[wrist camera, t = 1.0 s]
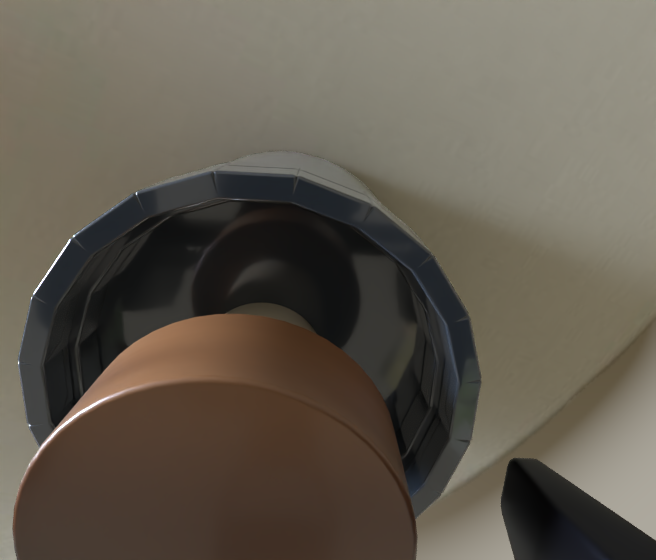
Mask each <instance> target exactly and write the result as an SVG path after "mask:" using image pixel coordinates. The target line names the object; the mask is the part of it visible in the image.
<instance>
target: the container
mask: <svg viewBox="0 0 656 560" xmlns="http://www.w3.org/2000/svg"><path fill="white" fill-rule="evenodd" d="M251 303H272V304H277V305H281V306H283V307H286V308H289V309H291V310H293V311H294V312H296V313H298V314H299V315H300V316H302V317H303V318H304V319H305V320H306V321H307V322H308V323H309V324H310V325H311V326H312V328H313V329H314V331H315V332H316V334H317V335H319V336H321V337H323V338H325V339H327V340H328V341H330V342H331V343H332V344H334V345H335V346H337V347H338V348H340V349H341V350H343V351H344V352H345V353H346V354H347V355H349V356H350V357H351V358H352V359H353V360H354V361H355V362H356V363H358V364H359V366H360V367H361V368H362V369H363V370H364V371H365V373H366V374H367V375H368V376H369V377H370V378H371V380H372V381H373V383H374V384H375V386H376V387H377V389H378V390H379V392H380V394H381V395H382V397H383V399H384V402H385V404H386V406H387V408H388V410H389V413H390V416H391V420H392V424H393V427H394V431H395V435H396V439H397V443H398V447H399V452H400V456H401V460H402V464H403V468H404V472H405V477H406V481H407V485H408V489H409V493H410V497H411V502H412V506H413V510H414V514H415V519H416V518H417V517H418V516H419V515H421V514H422V513H423V512H424V511H425V510H426V509H427V508H428V507H429V506H430V505H431V504H432V503H433V502H434V501H436V500H437V499H438V498H439V497H440V496H441V493H443V491H444V489H445V488H446V486H447V484H448V482H449V480H450V479H451V477H452V475H453V473H454V472H455V470H456V468H457V466H458V464H459V463H460V461H461V459H462V457H463V455H464V454H465V452H466V450H467V448H468V446H469V445H470V441H471V439H472V434H473V428H474V422H475V416H476V410H477V405H478V399H479V393H480V387H481V372H480V367H479V362H478V356H477V351H476V346H475V341H474V335H473V330H472V325H471V319H470V317H469V315H468V311H467V310H466V308H465V306H464V305H463V303H462V301H461V300H460V298H459V296H458V295H457V293H456V291H455V289H454V288H453V286H452V284H451V283H450V281H449V279H448V278H447V276H446V274H445V273H444V271H443V269H442V268H441V266H440V264H439V263H438V261H437V259H436V258H435V256H434V255H433V254H432V253H431V251H430V250H429V249H428V248H427V247H426V245H425V244H424V243H423V242H422V240H421V239H420V238H419V237H418V236H417V234H416V233H415V232H414V231H413V230H412V229H411V228H410V227H409V226H407V225H406V224H405V223H404V222H403V221H401V220H400V219H399V218H398V217H397V216H396V215H394V214H393V213H392V212H391V211H390V210H388V209H387V208H386V207H385V206H384V205H382V204H381V203H380V202H379V201H378V199H377V198H376V197H375V195H374V194H373V193H372V192H371V191H370V190H369V189H368V188H367V187H366V186H365V185H364V184H363V183H362V182H361V181H360V180H359V179H358V178H356V177H355V176H354V175H352V174H351V173H350V172H349V171H347V170H345V169H343V168H342V167H340V166H338V165H336V164H335V163H332V162H330V161H328V160H325V159H323V158H320V157H317V156H313V155H309V154H306V153H300V152H292V151H268V152H261V153H254V154H251V155H247V156H244V157H240V158H238V159H235V160H233V161H231V162H226V163H222V164H219V165H215V166H211V167H208V168H204V169H200V170H197V171H193V172H190V173H186V174H182V175H179V176H175V177H172V178H169V179H166V180H164V181H161V182H159V183H157V184H154V185H151V186H149V187H146V188H144V189H141V190H139V191H137V192H135V193H132V194H131V195H129V196H128V197H126V198H125V199H124V200H122V201H121V202H119V203H118V204H117V205H115V206H114V207H112V208H111V209H109V210H108V211H107V212H105V213H104V214H102V215H101V216H99V217H98V218H97V219H95V220H94V221H92V222H91V223H89V224H88V225H87V226H85V227H84V228H82V229H81V230H79V231H78V232H77V233H75V234H74V236H73V237H72V238H70V239H69V241H68V242H67V244H66V245H65V247H64V248H63V250H62V251H61V253H60V254H59V256H58V257H57V259H56V260H55V262H54V263H53V265H52V266H51V268H50V269H49V271H48V272H47V274H46V275H45V277H44V278H43V280H42V281H41V282H40V284H39V285H38V287H37V288H36V290H35V291H34V293H33V296H32V297H31V301H30V306H29V310H28V315H27V320H26V324H25V329H24V333H23V338H22V343H21V347H20V352H19V356H18V361H19V362H18V368H19V374H20V380H21V387H22V393H23V400H24V406H25V413H26V419H27V423H28V424H29V429H30V431H31V433H32V435H33V437H34V439H35V440H36V442H37V444H38V446H39V448H40V446H41V445H42V443H43V442H44V441H45V440H46V439H47V438H48V436H49V435H50V434H51V433H52V432H53V430H54V429H55V428H56V427H57V426H58V425H59V423H60V422H61V421H62V420H63V419H64V418H65V416H66V415H67V414H68V413H69V412H70V410H71V409H72V408H73V407H74V406H75V405H76V403H77V402H78V401H79V400H80V399H81V397H82V396H83V395H84V394H85V393H86V392H87V390H88V389H89V388H90V387H91V386H92V384H93V383H94V382H95V381H96V380H97V379H98V377H99V376H100V375H101V374H102V373H103V372H104V370H105V369H106V368H107V367H108V366H109V365H110V364H111V363H112V362H113V361H114V360H115V358H116V357H117V356H118V355H119V354H120V353H122V352H123V351H124V350H126V349H127V348H128V347H129V346H131V345H132V344H133V343H134V342H136V341H138V340H139V339H141V338H143V337H144V336H146V335H148V334H150V333H151V332H153V331H155V330H158V329H160V328H162V327H165V326H167V325H170V324H172V323H175V322H179V321H182V320H186V319H190V318H194V317H200V316H207V315H214V314H226V313H227V312H229V311H230V310H232V309H234V308H237V307H239V306H242V305H246V304H251Z"/></svg>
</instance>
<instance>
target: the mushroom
mask: <svg viewBox="0 0 656 560" xmlns="http://www.w3.org/2000/svg"><path fill="white" fill-rule="evenodd" d="M13 538H14V549H15V553H16V557H17V560H416V551H417V530H416V521H415V514H414V510H413V506H412V502H411V497H410V493H409V489H408V485H407V481H406V477H405V472H404V468H403V464H402V460H401V456H400V452H399V447H398V443H397V439H396V435H395V431H394V427H393V424H392V420H391V416H390V413H389V410H388V408H387V406H386V404H385V402H384V399H383V397H382V395H381V394H380V392H379V390H378V389H377V387H376V386H375V384H374V383H373V381H372V380H371V378H370V377H369V376H368V375H367V374H366V373H365V371H364V370H363V369H362V368H361V367H360V366H359V364H358V363H356V362H355V361H354V360H353V359H352V358H351V357H350V356H349V355H347V354H346V353H345V352H344V351H343V350H341V349H340V348H338V347H337V346H335V345H334V344H332V343H331V342H330V341H328V340H327V339H325V338H323V337H321V336H319V335H317V334H316V332H315V331H314V329H313V328H312V326H311V325H310V324H309V323H308V322H307V321H306V320H305V319H304V318H303V317H302V316H300V315H299V314H298V313H296V312H294V311H293V310H291V309H289V308H286V307H283V306H281V305H277V304H272V303H251V304H246V305H242V306H239V307H237V308H234V309H232V310H230V311H229V312H227V313H226V314H214V315H207V316H200V317H194V318H190V319H186V320H182V321H179V322H175V323H172V324H170V325H167V326H165V327H162V328H160V329H158V330H155V331H153V332H151V333H150V334H148V335H146V336H144V337H143V338H141V339H139V340H138V341H136V342H134V343H133V344H132V345H131V346H129V347H128V348H127V349H126V350H124V351H123V352H122V353H120V354H119V355H118V356H117V357H116V358H115V360H114V361H113V362H112V363H111V364H110V365H109V366H108V367H107V368H106V369H105V370H104V372H103V373H102V374H101V375H100V376H99V377H98V379H97V380H96V381H95V382H94V383H93V384H92V386H91V387H90V388H89V389H88V390H87V392H86V393H85V394H84V395H83V396H82V397H81V399H80V400H79V401H78V402H77V403H76V405H75V406H74V407H73V408H72V409H71V410H70V412H69V413H68V414H67V415H66V416H65V418H64V419H63V420H62V421H61V422H60V423H59V425H58V426H57V427H56V428H55V429H54V430H53V432H52V433H51V434H50V435H49V436H48V438H47V439H46V440H45V441H44V442H43V443H42V445H41V446H40V448H39V449H38V451H37V452H36V454H35V455H34V457H33V458H32V460H31V461H30V463H29V465H28V467H27V469H26V472H25V474H24V476H23V478H22V480H21V483H20V486H19V490H18V494H17V498H16V502H15V506H14V517H13Z"/></svg>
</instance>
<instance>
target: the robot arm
mask: <svg viewBox="0 0 656 560" xmlns="http://www.w3.org/2000/svg"><path fill="white" fill-rule="evenodd" d="M501 509H502V515H503V519H504V522H505V526H506V529H507V533H508V537H509V540H510V544H511V548H512V551H513V554H514V558H515V560H656V540H654V539H652V538H651V537H650V536H648V535H647V534H645V533H644V532H642V531H641V530H639V529H638V528H637V527H635V526H633V525H632V524H631V523H629V522H628V521H626V520H625V519H623V518H622V517H620V516H619V515H617V514H616V513H615V512H613V511H612V510H610V509H609V508H607V507H606V506H604V505H603V504H601V503H600V502H599V501H597V500H596V499H594V498H593V497H591V496H590V495H588V494H587V493H585V492H584V491H582V490H581V489H580V488H578V487H577V486H575V485H574V484H572V483H571V482H569V481H568V480H566V479H565V478H563V477H562V476H561V475H559V474H558V473H556V472H555V471H553V470H552V469H550V468H549V467H547V466H546V465H544V464H543V463H542V462H540V461H538V460H537V459H531V458H529V459H528V458H513V459H511V460H510V462H509V464H508V466H507V472H506V476H505V481H504V486H503V492H502V496H501Z"/></svg>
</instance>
